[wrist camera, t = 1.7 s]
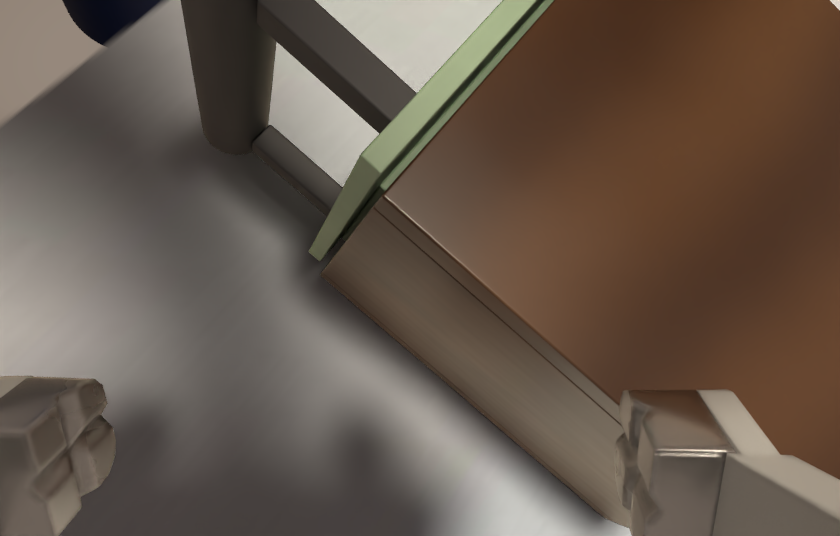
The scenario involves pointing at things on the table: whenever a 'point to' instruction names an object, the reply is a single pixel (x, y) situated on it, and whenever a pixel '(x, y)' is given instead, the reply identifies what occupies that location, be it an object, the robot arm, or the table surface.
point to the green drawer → (345, 76)
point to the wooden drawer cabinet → (626, 229)
